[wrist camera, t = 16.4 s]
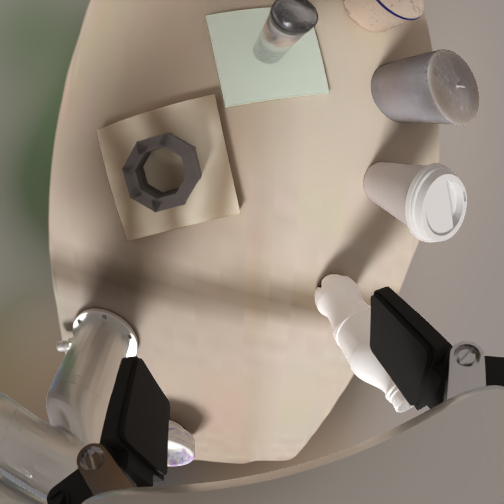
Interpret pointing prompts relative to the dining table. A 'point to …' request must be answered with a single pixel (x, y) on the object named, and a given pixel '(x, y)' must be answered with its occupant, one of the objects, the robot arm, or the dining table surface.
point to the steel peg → (284, 29)
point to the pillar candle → (427, 89)
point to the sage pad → (256, 72)
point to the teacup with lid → (383, 12)
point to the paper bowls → (179, 445)
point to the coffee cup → (419, 197)
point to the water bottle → (355, 333)
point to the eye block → (169, 168)
